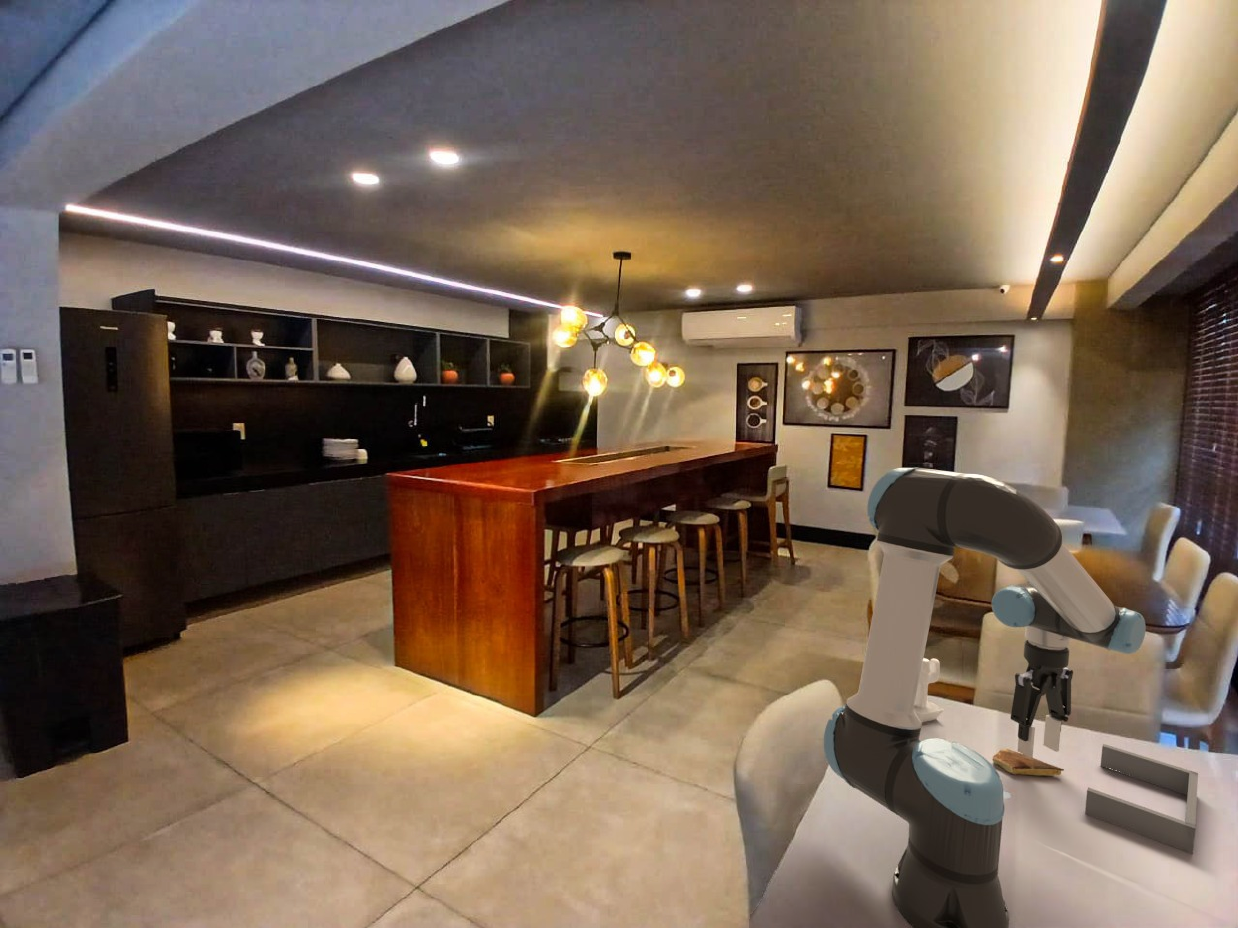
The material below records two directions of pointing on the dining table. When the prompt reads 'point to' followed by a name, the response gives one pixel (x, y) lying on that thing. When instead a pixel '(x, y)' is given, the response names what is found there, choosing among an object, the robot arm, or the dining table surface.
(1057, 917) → the dining table surface
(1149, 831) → the box
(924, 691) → the figurine
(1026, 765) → the shard
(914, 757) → the robot arm
